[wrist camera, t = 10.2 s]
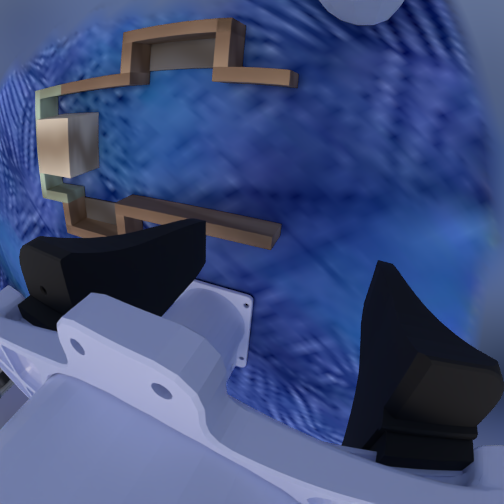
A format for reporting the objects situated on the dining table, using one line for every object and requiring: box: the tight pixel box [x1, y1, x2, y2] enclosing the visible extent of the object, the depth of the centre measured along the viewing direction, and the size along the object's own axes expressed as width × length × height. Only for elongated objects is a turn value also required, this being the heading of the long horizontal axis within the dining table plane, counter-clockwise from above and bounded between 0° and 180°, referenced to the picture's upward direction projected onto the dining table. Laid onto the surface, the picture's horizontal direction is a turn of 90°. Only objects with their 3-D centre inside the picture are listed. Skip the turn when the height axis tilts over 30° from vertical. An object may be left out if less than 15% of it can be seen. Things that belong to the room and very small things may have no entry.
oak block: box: [37, 112, 99, 178], centre depth 25 cm, size 6×6×4 cm
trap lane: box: [35, 18, 299, 250], centre depth 23 cm, size 19×26×2 cm
